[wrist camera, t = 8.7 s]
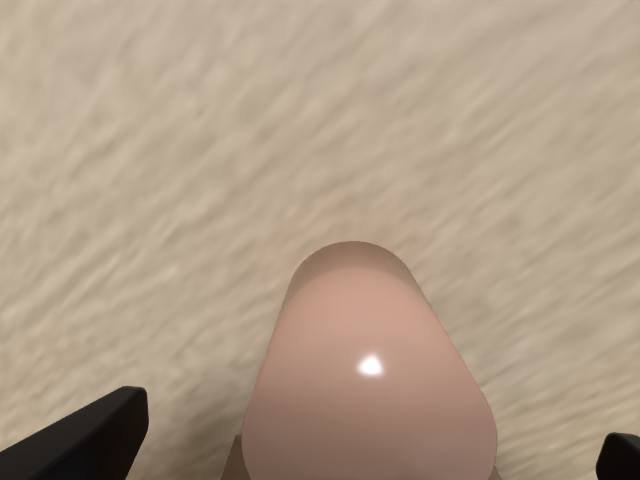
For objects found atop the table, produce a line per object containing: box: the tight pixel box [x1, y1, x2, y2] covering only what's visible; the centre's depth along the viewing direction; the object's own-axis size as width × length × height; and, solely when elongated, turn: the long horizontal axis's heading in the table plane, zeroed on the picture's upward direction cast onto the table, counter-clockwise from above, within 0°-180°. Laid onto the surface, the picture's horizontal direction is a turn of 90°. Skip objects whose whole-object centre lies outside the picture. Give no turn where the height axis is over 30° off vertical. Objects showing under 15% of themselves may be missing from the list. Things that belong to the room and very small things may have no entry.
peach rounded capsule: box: [242, 241, 497, 480], centre depth 9 cm, size 5×5×6 cm
